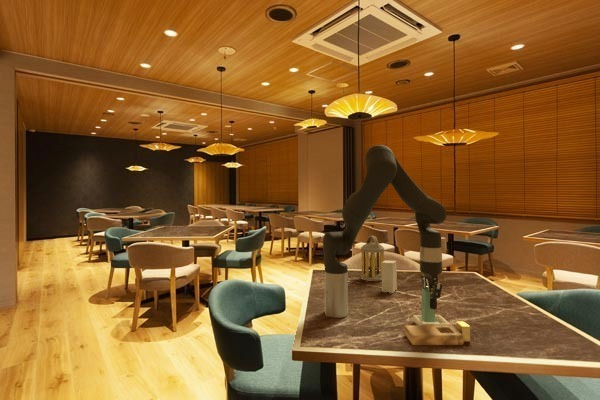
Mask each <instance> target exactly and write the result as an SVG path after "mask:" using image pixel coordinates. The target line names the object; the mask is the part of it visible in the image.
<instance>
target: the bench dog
mask: <svg viewBox="0 0 600 400" xmlns="http://www.w3.org/2000/svg"><path fill="white" fill-rule="evenodd" d="M455 326H456V327H455V329H457V330H458V331H459V332H460V333H461V334H462V335H463V343H466V342H468V343H469V342H471V326H470V325H469V324H468V323H466V322H465V321H456V322H455Z"/></svg>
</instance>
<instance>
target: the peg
mask: <svg viewBox="0 0 600 400" xmlns="http://www.w3.org/2000/svg"><path fill="white" fill-rule="evenodd" d="M421 315H422V320H423V321H424V322H435V315H436V309H431V308H430V292H429V291H428V289H423V288H421Z"/></svg>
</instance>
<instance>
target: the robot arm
mask: <svg viewBox="0 0 600 400" xmlns="http://www.w3.org/2000/svg"><path fill="white" fill-rule="evenodd" d="M364 158H365V159H364V162H365V170H366V171H365V177H364V180H363V183H362V184H361V186H360V188H359V189H358V190H357V191H355V192H353V193H352V194H350V196H349V197H348V198H347V200H346V201H345V204H344V206H343V208H342V211H341V214H342V215H341V216H342V220H343V222H344V225H345V228H344V229H343V230H342V231H329V232H325V233H324V235H323V238H322V249H323V253H322V254H323V265H324V290H323V293H324V294H323V295H324V315H325V317H329V318H333V319H334V318H336V319H339V318H346V317H348V316H349V291H348V290H349V289H348V288H349V287H348V286H349V282H348V281H349V279H348V278H349V276H348V275H349V273H348V270H349V269H348V264H347V263H345V262H341V261H338V260H336V256H338V255H345V254H348V253H350V251H351V250H352V248H353V246H354V243H355V241H356V238H357V237H358V235H359V232H360V230H361V229H362V227H363V225H364V224H365V222H366V221H367V219H368V218H369V216H370V214H371V212H372V210H373V209H374V207H375V205H376V204H377V202H378V201H379V198H380V197H381V196H382V194H383V192H384V191H386V189H387V188H388V187H389V186H390V184H391V186H392V188H393V189H394V190H395V192H396V193H397V195H398V196H399V198H400V199H401V201H403V203H404V204H406V206H408V207H409V209H410V210H412V211H413V212H414V214H415V215H414V217H415V218H414V219H415V222H416V225H417V228H418V232H419V238H420V240H419V241H420V243H419V244H420V249H419V272H421V274H422V273H423V274H422V275H421V274H420V279H421V287H422V288H421V289H428V291H429V292H430V308H431V309H435V310H437V308H438V299H440V298H441V296H442V295H441V294H442V288H443V284H442V283H439V282H440V281H439V277H438V276H439V275H441V274H442V273H443V252H442V234H441V232H440V231H438V230H435V229H433V228H432V227H431V225H440V224H443V223H444V222H445V221H446V219H447V216H448V215H447V211H446V208H445V207H444V205H443V204H442V203H440V202H438V201H437V200H435V199H434V198H432V197H430V196H428V195H427V194H426V193H425V192H424V190H423V189H421V187H420V186H418V185H417V183H416V182H415V181H414V180H413V179H412V178H411V177H410V175H409V174H408V173H407V172H406V171H405V169H404V168H403V166H402V165H401V163H400V162H399V161H398V159H397V157H396V155H395V154H394V152H393V150H392V149H391V148H390V147H388V146H387V145H383V144H377V145H373V146H372V147H369V148H368V150H367V151H366V153H365V157H364Z"/></svg>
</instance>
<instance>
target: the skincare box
mask: <svg viewBox="0 0 600 400" xmlns="http://www.w3.org/2000/svg"><path fill="white" fill-rule="evenodd" d="M397 272H398V271H397V260H388V259H387V260H385V259H384V261H383V262H382V263H381V275H382V282H381V293H382V292H383V293H387V292H389V293H388V294H394V293H395V292H396V291H397V289H398V282H397V281H398V277H397ZM395 290H396V291H395Z"/></svg>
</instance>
